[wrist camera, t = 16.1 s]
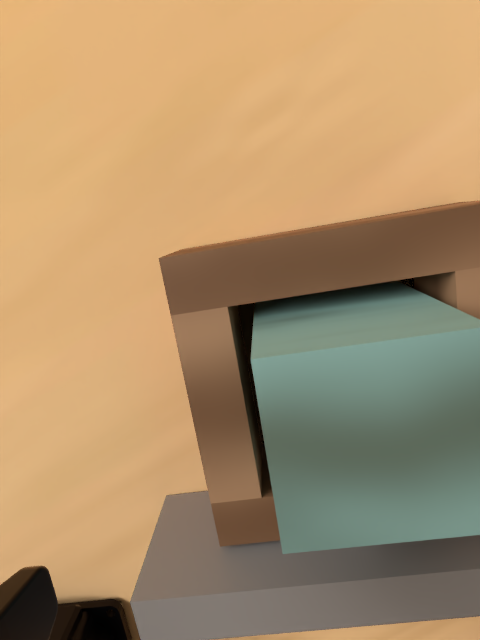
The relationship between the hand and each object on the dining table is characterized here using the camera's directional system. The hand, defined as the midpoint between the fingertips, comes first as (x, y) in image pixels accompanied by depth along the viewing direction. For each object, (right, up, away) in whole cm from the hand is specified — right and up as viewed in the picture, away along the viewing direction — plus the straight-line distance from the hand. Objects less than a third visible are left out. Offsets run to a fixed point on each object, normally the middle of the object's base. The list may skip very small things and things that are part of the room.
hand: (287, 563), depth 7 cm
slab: (+4, -4, +13) cm, 14 cm away
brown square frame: (+3, +3, +11) cm, 12 cm away
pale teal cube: (+3, +3, +11) cm, 12 cm away
